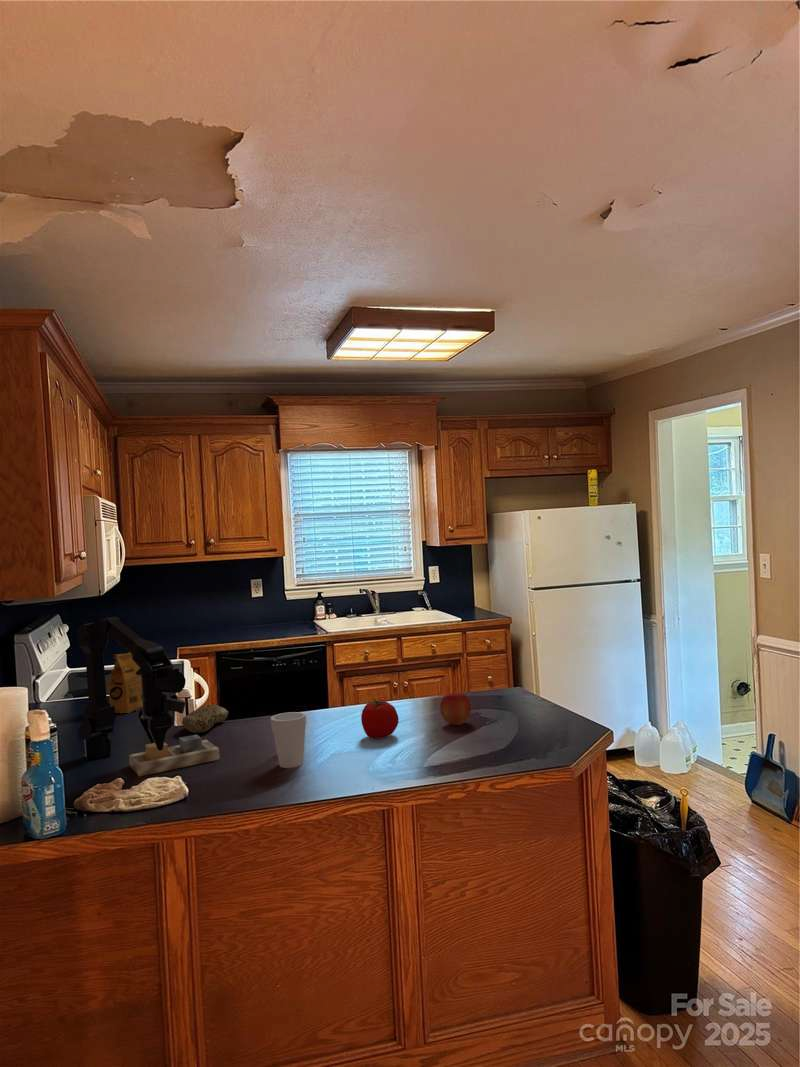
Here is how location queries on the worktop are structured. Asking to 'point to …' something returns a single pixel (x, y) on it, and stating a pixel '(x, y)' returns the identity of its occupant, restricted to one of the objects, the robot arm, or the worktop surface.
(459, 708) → the apple
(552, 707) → the worktop surface
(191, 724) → the speckled rock
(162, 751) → the block
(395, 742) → the worktop surface
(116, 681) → the coffee package
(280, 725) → the foam cup
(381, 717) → the red fruit
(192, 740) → the puzzle frame
